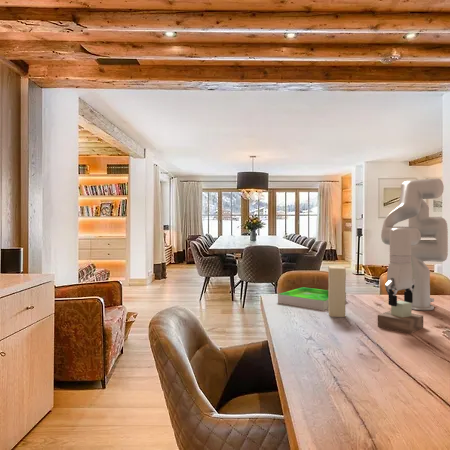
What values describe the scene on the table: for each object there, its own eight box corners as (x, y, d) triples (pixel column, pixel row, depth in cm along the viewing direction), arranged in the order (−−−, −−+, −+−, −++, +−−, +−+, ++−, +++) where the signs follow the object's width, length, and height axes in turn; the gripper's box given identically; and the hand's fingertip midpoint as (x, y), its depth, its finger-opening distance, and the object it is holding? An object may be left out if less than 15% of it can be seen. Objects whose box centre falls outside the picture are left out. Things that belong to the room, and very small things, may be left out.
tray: (277, 303, 187) (277, 294, 186) (302, 296, 205) (302, 287, 205) (323, 311, 170) (323, 300, 170) (346, 302, 189) (346, 292, 189)
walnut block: (392, 322, 151) (392, 309, 151) (423, 328, 141) (423, 315, 141) (377, 327, 143) (377, 314, 143) (409, 334, 134) (409, 321, 134)
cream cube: (400, 313, 145) (400, 300, 145) (411, 316, 141) (411, 303, 141) (391, 314, 143) (391, 301, 143) (402, 317, 139) (402, 304, 139)
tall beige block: (347, 317, 157) (347, 268, 157) (329, 316, 158) (329, 268, 158) (345, 313, 165) (345, 266, 165) (328, 312, 166) (328, 265, 166)
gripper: (405, 257, 150) (405, 299, 150) (377, 260, 141) (377, 305, 141) (422, 259, 143) (423, 302, 144) (395, 262, 134) (395, 309, 135)
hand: (400, 303), depth 142 cm, fingers open, 9 cm apart
